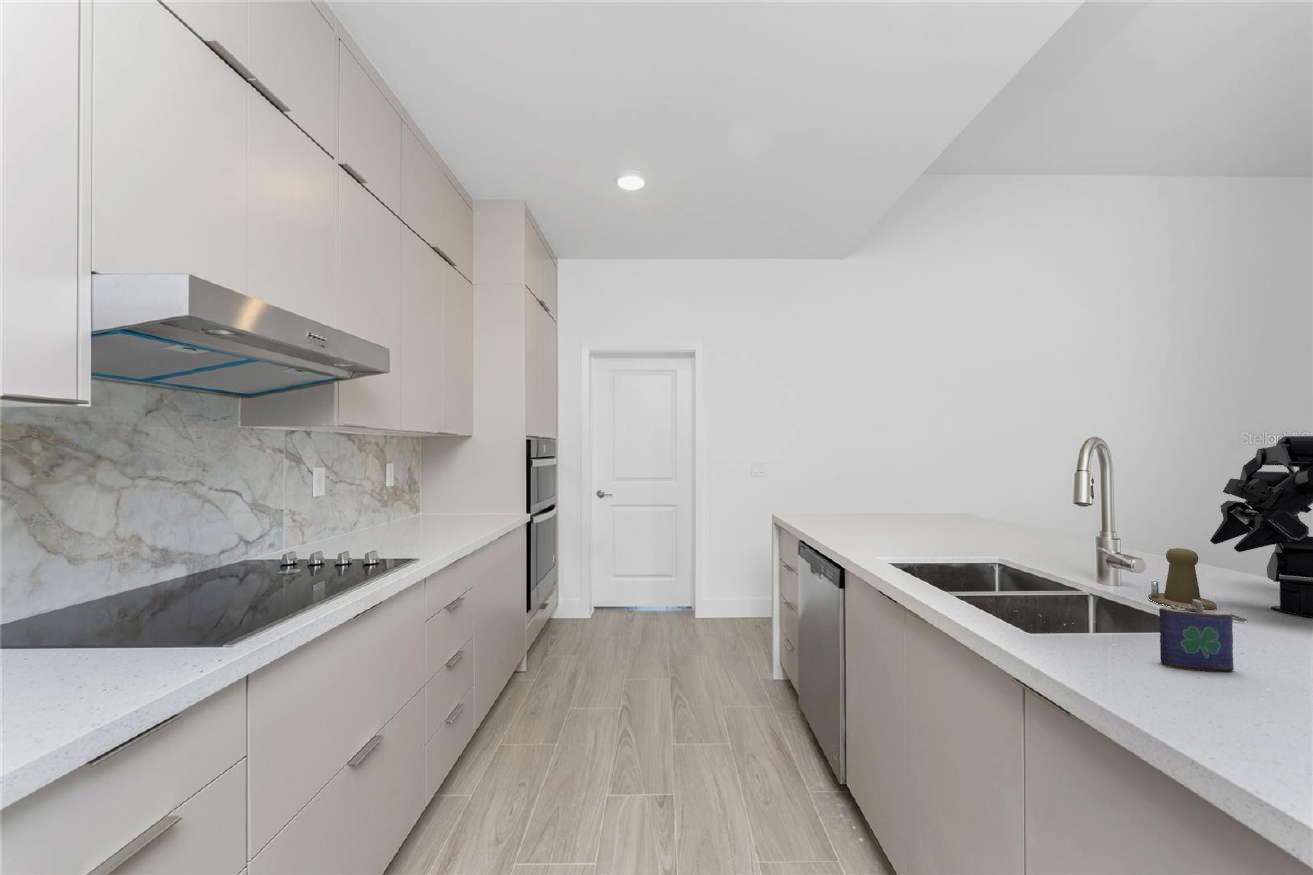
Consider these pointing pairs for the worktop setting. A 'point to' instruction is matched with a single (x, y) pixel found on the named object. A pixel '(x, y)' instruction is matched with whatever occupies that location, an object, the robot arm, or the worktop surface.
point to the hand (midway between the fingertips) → (1223, 546)
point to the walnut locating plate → (1161, 600)
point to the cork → (1182, 576)
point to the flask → (1196, 638)
